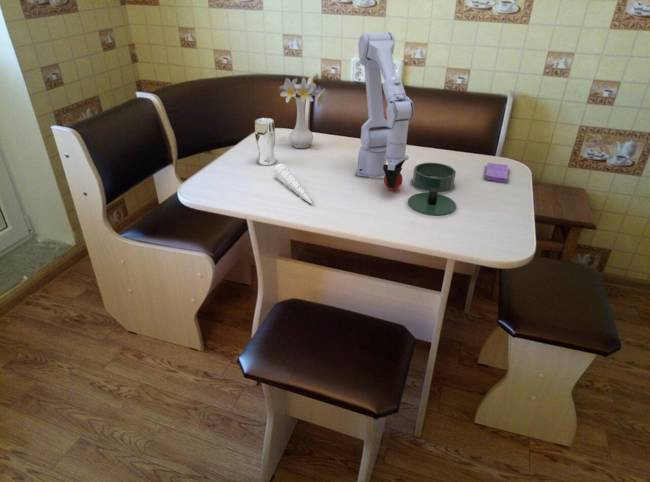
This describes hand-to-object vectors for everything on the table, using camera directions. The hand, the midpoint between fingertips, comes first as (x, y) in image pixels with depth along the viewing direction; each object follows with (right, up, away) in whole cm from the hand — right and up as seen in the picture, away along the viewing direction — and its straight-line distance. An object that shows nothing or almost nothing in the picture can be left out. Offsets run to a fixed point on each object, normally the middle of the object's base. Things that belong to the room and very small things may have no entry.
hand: (392, 183), depth 142 cm
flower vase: (-30, +19, +35) cm, 50 cm away
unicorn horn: (-31, -2, +2) cm, 31 cm away
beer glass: (-42, +10, +21) cm, 48 cm away
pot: (+14, 0, +6) cm, 15 cm away
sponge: (+38, +4, +14) cm, 41 cm away
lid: (+11, -7, -7) cm, 15 cm away
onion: (0, -2, +1) cm, 3 cm away
